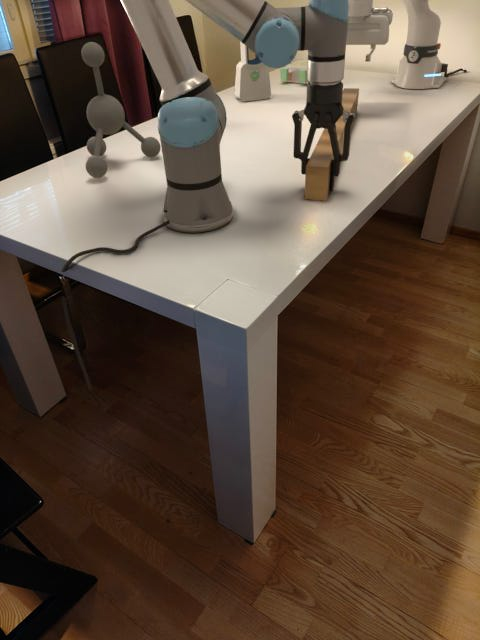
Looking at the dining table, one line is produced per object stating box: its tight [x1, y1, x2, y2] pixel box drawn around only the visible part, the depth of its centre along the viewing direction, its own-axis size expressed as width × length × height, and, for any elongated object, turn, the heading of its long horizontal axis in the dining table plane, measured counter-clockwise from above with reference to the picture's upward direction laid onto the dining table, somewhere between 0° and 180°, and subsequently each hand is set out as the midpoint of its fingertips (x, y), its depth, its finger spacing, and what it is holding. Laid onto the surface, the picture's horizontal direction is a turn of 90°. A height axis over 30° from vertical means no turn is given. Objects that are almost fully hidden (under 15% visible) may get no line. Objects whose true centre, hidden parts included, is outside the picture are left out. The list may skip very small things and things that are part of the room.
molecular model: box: [80, 41, 161, 179], centre depth 128 cm, size 24×22×30 cm
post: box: [304, 87, 360, 202], centre depth 136 cm, size 71×5×8 cm, turn 164°
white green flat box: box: [280, 58, 310, 85], centre depth 206 cm, size 26×6×20 cm
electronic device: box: [234, 41, 272, 103], centre depth 177 cm, size 12×8×30 cm, turn 105°
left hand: (319, 187), depth 116 cm, fingers closed on post, 5 cm apart
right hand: (352, 61), depth 150 cm, fingers open, 8 cm apart
